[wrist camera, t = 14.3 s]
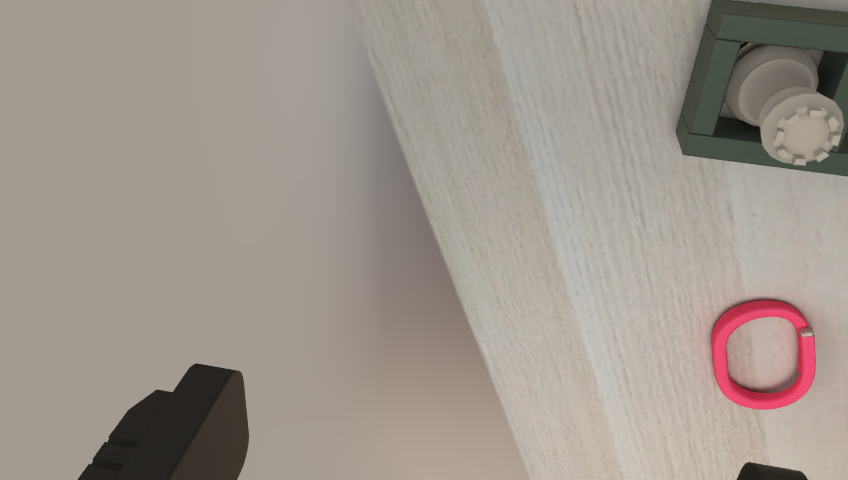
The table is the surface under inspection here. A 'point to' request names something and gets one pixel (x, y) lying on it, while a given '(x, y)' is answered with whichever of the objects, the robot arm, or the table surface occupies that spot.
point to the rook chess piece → (784, 102)
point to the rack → (726, 27)
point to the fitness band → (805, 354)
